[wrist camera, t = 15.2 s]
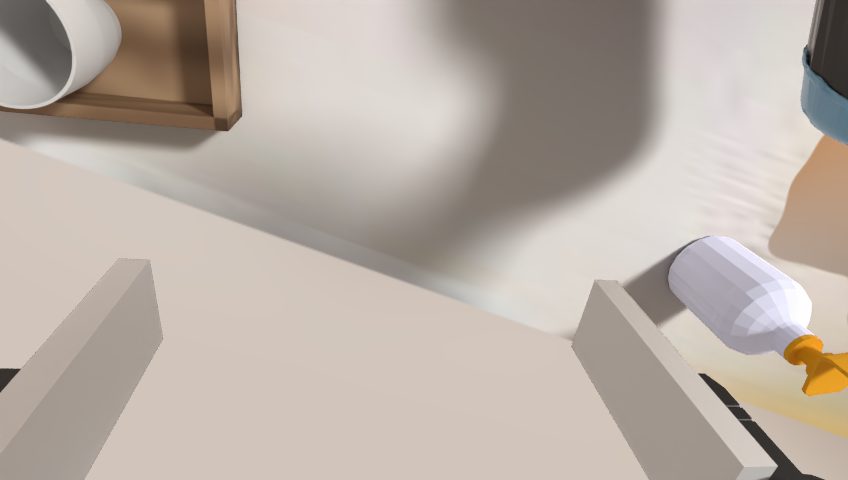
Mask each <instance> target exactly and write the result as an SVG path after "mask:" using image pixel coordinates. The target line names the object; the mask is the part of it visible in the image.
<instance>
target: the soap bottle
mask: <svg viewBox="0 0 848 480" xmlns="http://www.w3.org/2000/svg"><path fill="white" fill-rule="evenodd" d="M668 282H669V287H670V290H671V291H672V292H673V293H674V294H675V296H676V297H677V298H678V299H679V300H680V301H681V302H682V303H683V304H684V305H685V306H686V307H687V308H688V309H689V310H690V311H691V312H693V313H694V314H695V315H696V316H697V317H698V318H699V319H700V320H701V321H702V322H703V323H704V324H705V325H706V326H707V327H708V328H709V329H710V330H711V331H712V332H713V333H714V334H715V335H716V336H717V337H718V338H719V339H720V340H721V341H722V342H723V343H724V344H725V345H726V346H727V347H729V348H731V349H733V350H736V351H738V352H741V353H743V354H746V355H761V354H769V353H773V352H777V353H779V354H780V355H781V356H782V357H783V358H784V359H785V360H787V361H788V362H789V363H791V364H793V365H803V364H806V365H807V367H806V373H807V374H808V377H807V379H806V381H805V383H804V385H803V388H802V391H803V392H804V393H805V394H806V395H808V396H812V395H819V394H826V393H832V392H839V391H841V390H843V389H845V388H846V387H847V386H848V353H841V354H832V353H824V354H823V353H821V351H822V348H823V343H822V341H821V340H820V339H819V338H817V337H816V336H815V335H814V334H813V333H811V332H810V331H809V330H807V329H806V328H807V325H808V323H809V321H810V316H811V300H810V299H809V297H808V296H807V294H806V292H805V291H804V289H803V288H802V286H801V285H800V284H798V283H797V282H795V281H794V280H792V279H791V278H789V277H788V276H787V275H785V274H784V273H782V272H781V271H779V270H778V269H776V268H775V267H773V266H772V265H770V264H769V263H767V262H766V261H764V260H763V259H762V258H760V257H759V256H757V255H756V254H754V253H753V252H751V251H750V250H748V249H747V248H745V247H744V246H742V245H741V244H740V243H738V242H737V241H735V240H733V239H731V238H729V237H726V236H710V237H706V238H702V239H699V240H697V241H696V242H694V243H692V244H690V245H689V246H687V247H686V248H685V249H684V250H683V251H682V252H681V253H680V254H679V255H678V256H677V257H676V258H675V260H674V262H673V263H672V265H671V267H670V270H669V275H668Z"/></svg>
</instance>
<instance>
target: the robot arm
mask: <svg viewBox="0 0 848 480" xmlns="http://www.w3.org/2000/svg"><path fill="white" fill-rule="evenodd" d="M802 63H803V66H804V77H803V85H802V92H801V106H802V110H803V112H804V113H805V114H806V116H807V117H808V119H809V120H810V122H811V124H812V125H813V126H814V127H816V128H817V129H818V130H820V131H821V132H822V133H824V134H825V135H827V136H829V137H831V138H833V139H835V140H837V141H839V142H841V143H844V144H846V145H848V0H816V4H815V9H814V14H813V19H812V24H811V30H810V35H809V40H808V44H807V45H806V47H805V48H804V51H803V56H802ZM162 340H163V335H162V329H161V324H160V319H159V312H158V306H157V300H156V294H155V288H154V282H153V276H152V270H151V265H150V260H140V259H118V260H117V261H116V263H115V264H114V265H113V266H112V267H111V268H110V269H109V271H108V272H107V273H106V274H105V275H104V276H103V277H102V278H101V279H100V281H99V282H98V283H97V284H96V285H95V286H94V288H92V290H91V291H90V292H89V293H88V294H87V295H86V296H85V298H84V299H83V300H82V301H81V302H80V303H79V304H78V305H77V307H76V308H75V309H74V310H73V311H72V312H71V313H70V315H69V316H68V317H67V318H66V319H65V320H64V321H63V322H62V324H61V325H60V326H59V327H58V328H57V329H56V330H55V332H54V333H53V334H52V335H51V336H50V337H49V338H48V339H47V341H46V342H45V343H44V344H43V345H42V346H41V347H40V348H39V350H38V351H37V352H36V353H35V354H34V355H33V356H32V357H31V359H30V360H29V361H28V362H27V363H26V364H25V365H24V366H23V368H22V369H0V480H84V479H85V477H86V476H87V474H88V472H89V470H90V469H91V467H92V465H93V463H94V461H95V460H96V458H97V456H98V454H99V452H100V451H101V449H102V447H103V445H104V443H105V442H106V440H107V438H108V436H109V435H110V432H111V431H112V429H113V427H114V426H115V424H116V422H117V420H118V418H119V417H120V415H121V413H122V411H123V410H124V408H125V406H126V404H127V402H128V401H129V399H130V397H131V395H132V393H133V391H134V390H135V388H136V386H137V385H138V383H139V381H140V379H141V377H142V376H143V374H144V372H145V370H146V368H147V367H148V365H149V363H150V361H151V359H152V357H153V355H154V354H155V352H156V351H157V349H158V347H159V345H160V343H161V342H162ZM571 347H572V348H573V350H574V352H575V353H576V355H577V357H578V359H579V360H580V362H581V364H582V366H583V367H584V369H585V370H586V372H587V374H588V376H589V378H590V379H591V381H592V383H593V384H594V386H595V388H596V390H597V391H598V393H599V395H600V396H601V398H602V400H603V402H604V403H605V405H606V407H607V408H608V410H609V412H610V413H611V415H612V417H613V419H614V420H615V422H616V424H617V425H618V427H619V429H620V431H621V432H622V434H623V436H624V437H625V439H626V441H627V443H628V444H629V446H630V448H631V449H632V451H633V453H634V455H635V456H636V458H637V460H638V461H639V463H640V465H641V467H642V468H643V470H644V472H645V473H646V475H647V477H648V479H649V480H824V479H821V478H819V477H816V476H813V475H807V474H802V473H801V472H800V471H799V470H798V469H797V468H796V467H795V466H794V464H793V463H792V462H791V461H790V460H789V459H788V458H787V457H786V456H785V455H784V453H783V452H782V451H781V450H780V449H779V448H778V447H777V446H776V445H775V444H774V442H773V441H772V440H771V439H770V438H769V437H768V436H767V435H766V433H765V432H764V431H763V430H762V429H761V428H760V427H759V426H758V425H757V423H756V422H753V421H752V420H751V417H750V416H749V415H748V414H747V413H746V411H745V410H744V409H743V408H740V407H739V404H738V402H737V401H736V400H735V399H734V398H733V397H732V396H731V395H730V394H729V393H728V391H727V390H726V389H725V388H724V387H722V386H721V385H720V384H718V383H717V382H716V381H714V380H713V379H711V378H710V377H709V376H707V375H706V374H698V373H697V372H696V371H695V370H694V369H693V368H692V367H691V365H690V364H689V363H688V362H687V361H686V360H685V358H684V357H683V356H682V355H681V354H680V353H679V352H678V350H677V349H676V348H675V347H674V346H673V345H672V344H671V342H670V341H669V340H668V339H667V338H666V337H665V335H664V334H663V333H662V332H661V331H660V330H659V329H658V327H657V326H656V325H655V324H654V323H653V322H652V321H651V319H650V318H649V317H648V316H647V315H646V314H645V312H644V311H643V310H642V309H641V308H640V307H639V306H638V304H637V303H636V302H635V301H634V300H633V299H632V297H631V296H630V295H629V294H628V293H627V292H626V291H625V289H624V288H623V287H622V286H621V285H620V284H619V283H618V281H612V280H595V281H594V284H593V287H592V289H591V292H590V295H589V298H588V301H587V304H586V306H585V309H584V312H583V315H582V318H581V321H580V323H579V326H578V329H577V332H576V335H575V338H574V340H573V343H572V346H571Z"/></svg>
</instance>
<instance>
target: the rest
mask: <svg viewBox="0 0 848 480" xmlns="http://www.w3.org/2000/svg"><path fill="white" fill-rule="evenodd" d="M104 1H105V2H106V3H107V4H108V5H109V6H110V7H111V9H112V10H113V11H114V13H115V15H116V16H117V18H118V21H119V23H120V27H121V33H122V37H121V43H120V46H119V48H118V50H117V53H116V55H115V57H114V59H113V61H112V62H111V64H110V65H109V66H108V67H107V68H105V69H104V70H103V71H102V72H101V73H100V74H99V75H98V76H96V77H95V78H94V79H93V80H92V81H91V82H89V83H88V84H87V85H85V86H83V87H81V88H80V89H78V90H76V91H74V92H72V93H70V94H68V95H66V96H64V97H62V98H60V99H58V100H56V101H54V102H52V103H50V104H48V105H46V106H43V107H38V108H32V109H16V108H9V107H4V106H0V111H5V112H16V113H27V114H39V115H50V116H61V117H73V118H84V119H95V120H106V121H118V122H129V123H140V124H151V125H163V126H174V127H185V128H196V129H208V130H219V131H229V130H230V129H231V128H232V127H233V125H234V124H235V123H236V122H237V121H238V120H239V119H240V118H241V117H242V105H241V87H240V68H239V49H238V31H237V12H236V0H104Z"/></svg>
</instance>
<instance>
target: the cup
mask: <svg viewBox="0 0 848 480" xmlns="http://www.w3.org/2000/svg"><path fill="white" fill-rule="evenodd" d="M121 37H122V33H121V27H120V23H119V21H118V18H117V16H116V15H115V13H114V11H113V10H112V9H111V7H110V6H109V5H108V4H107V3H106V2H105V1H104V0H0V106H4V107H9V108H16V109H32V108H38V107H43V106H46V105H48V104H50V103H52V102H54V101H56V100H58V99H60V98H62V97H64V96H66V95H68V94H70V93H72V92H74V91H76V90H78V89H80V88H81V87H83V86H85V85H87V84H88V83H89V82H91V81H92V80H93V79H94V78H95V77H96V76H98V75H99V74H100V73H101V72H102V71H103V70H104V69H105V68H107V67H108V66H109V65H110V64H111V62H112V61H113V59H114V57H115V55H116V53H117V50H118V48H119V46H120V43H121Z"/></svg>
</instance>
